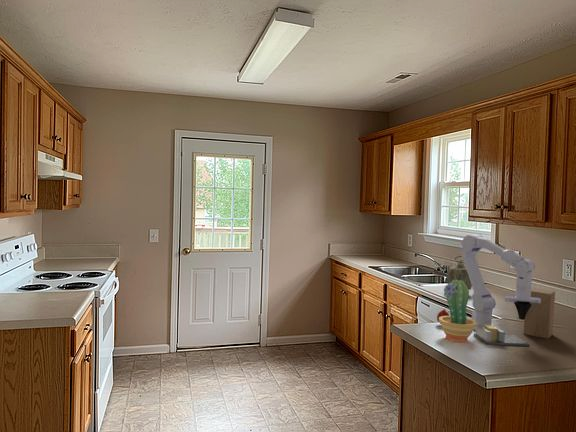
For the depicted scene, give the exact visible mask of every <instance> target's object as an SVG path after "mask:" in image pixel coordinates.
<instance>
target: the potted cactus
mask: <svg viewBox="0 0 576 432" xmlns="http://www.w3.org/2000/svg"><path fill="white" fill-rule="evenodd" d="M443 293H444V295H443V296H444V297H445V299H446V301H447V303H448V308H449V315H450V316H442V317H439V322H438V323H439V324H440V323H441V324H440V325H441V329H442V332H443V333H444V335H445V339H446V338H447V339H446V340H448V339H449V340H448V341H451V340H452V341H451V342H455V341H456V342H455V343H467V342H468V340H469V339H468V338H469V337H470V336H471V335H472V333H473V331H474V328H475V327H476V325H477V322H476V321H474V320H472V318H468V317H467V305H468V303H469V296H470V290H468V287H467V286H466V285H465V283H464V282H463V281H462V280H460V281H458V280H455V281H454V280H452V282H451V283H449V284H446V285H445V286H444V289H443Z"/></svg>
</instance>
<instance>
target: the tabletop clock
mask: <svg viewBox="0 0 576 432" xmlns="http://www.w3.org/2000/svg"><path fill="white" fill-rule="evenodd" d="M458 258H463V257H462V255H458V256H456V257H455V258H454V259H455V262H457V264H456V266H449V267H448V268H447V273H446V285H448V284H449V283H451V282H452V280H454V281H455V280H458V281H460V280H462V281H463V282H464V283H465V285H466V286H467V287H468V290H469V291H470V290H471V289H473V287H472V284H471V281H470V278H469V275H468V272H467V269H466V266H465V263H464V260H457V259H458Z"/></svg>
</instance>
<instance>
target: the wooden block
mask: <svg viewBox="0 0 576 432" xmlns="http://www.w3.org/2000/svg"><path fill="white" fill-rule="evenodd" d="M531 297H533V298H540V299H541V303H530V304H531V307H530V308H529V310H528V312H527V314H526V316H525V319H524V320H523V321H524V322H523V334H524V335H525V336H526V335H527V336H532V337H536V338H542V339H545V340H549V339H550V338H551V337H552V335H553V334H554V333H553V329H554V315H555V298H556V291H555V290H550V289H542V288H536V287H531Z"/></svg>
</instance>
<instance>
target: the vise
mask: <svg viewBox="0 0 576 432" xmlns="http://www.w3.org/2000/svg"><path fill="white" fill-rule="evenodd" d="M491 336H492V332H491V331H489V330H488V329H486V328H484V327H483V326H481V325H476V331H475V333H473V337H475V338H476V339H478V340H479V341H481V342H482V343H483V344H485V345H490V346H517V347H518V346H519V347H530V343H529V342H528V341H525V340H524V339H522V338H520V337H519V336H517V335H515V334H505V339H504V342H501V341H491Z"/></svg>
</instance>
